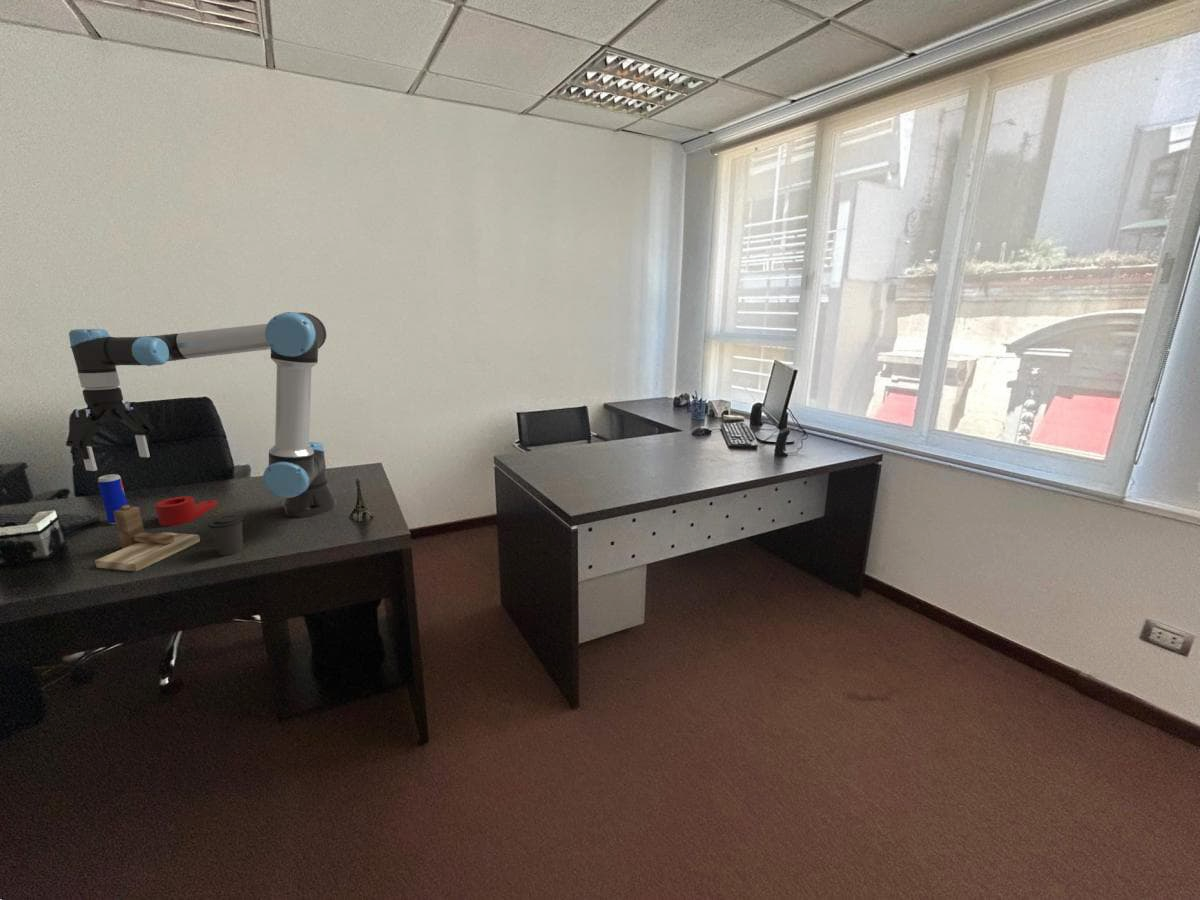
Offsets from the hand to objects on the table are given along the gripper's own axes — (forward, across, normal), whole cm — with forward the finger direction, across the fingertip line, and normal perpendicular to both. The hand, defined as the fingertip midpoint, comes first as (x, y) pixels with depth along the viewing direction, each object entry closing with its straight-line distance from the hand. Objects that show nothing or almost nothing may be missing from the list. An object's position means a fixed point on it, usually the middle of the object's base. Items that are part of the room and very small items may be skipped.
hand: (119, 463), depth 141 cm
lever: (+24, -18, -2) cm, 30 cm away
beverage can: (+23, -9, -18) cm, 31 cm away
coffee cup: (+23, +1, +33) cm, 40 cm away
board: (+23, +7, +13) cm, 27 cm away
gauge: (+23, +4, +13) cm, 27 cm away
